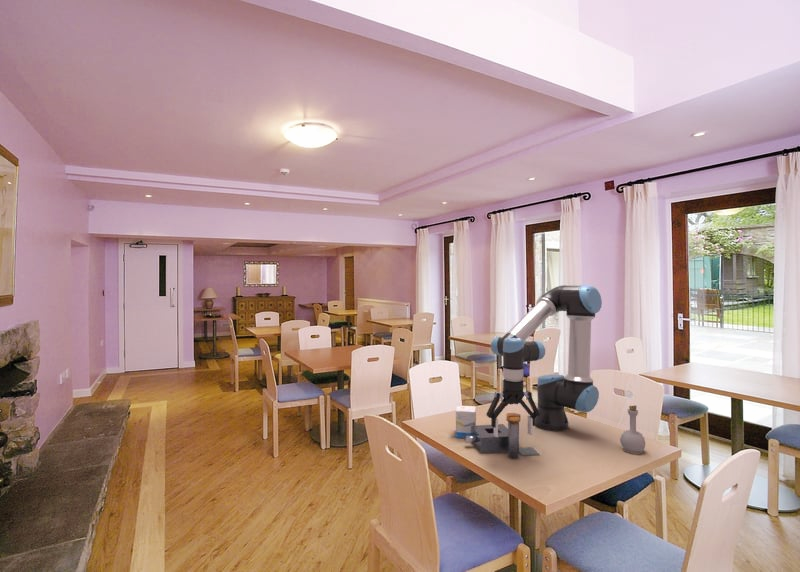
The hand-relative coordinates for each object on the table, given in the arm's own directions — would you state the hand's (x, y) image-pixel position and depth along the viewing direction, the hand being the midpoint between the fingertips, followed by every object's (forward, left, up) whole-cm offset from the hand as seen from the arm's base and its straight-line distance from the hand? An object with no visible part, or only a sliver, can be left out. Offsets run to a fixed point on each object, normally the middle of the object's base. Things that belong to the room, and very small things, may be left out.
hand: (513, 435), depth 162 cm
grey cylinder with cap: (0, 0, -8) cm, 8 cm away
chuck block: (+6, -12, -8) cm, 16 cm away
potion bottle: (-49, +1, -9) cm, 49 cm away
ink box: (+11, -25, -9) cm, 29 cm away
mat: (-7, -4, -8) cm, 12 cm away
